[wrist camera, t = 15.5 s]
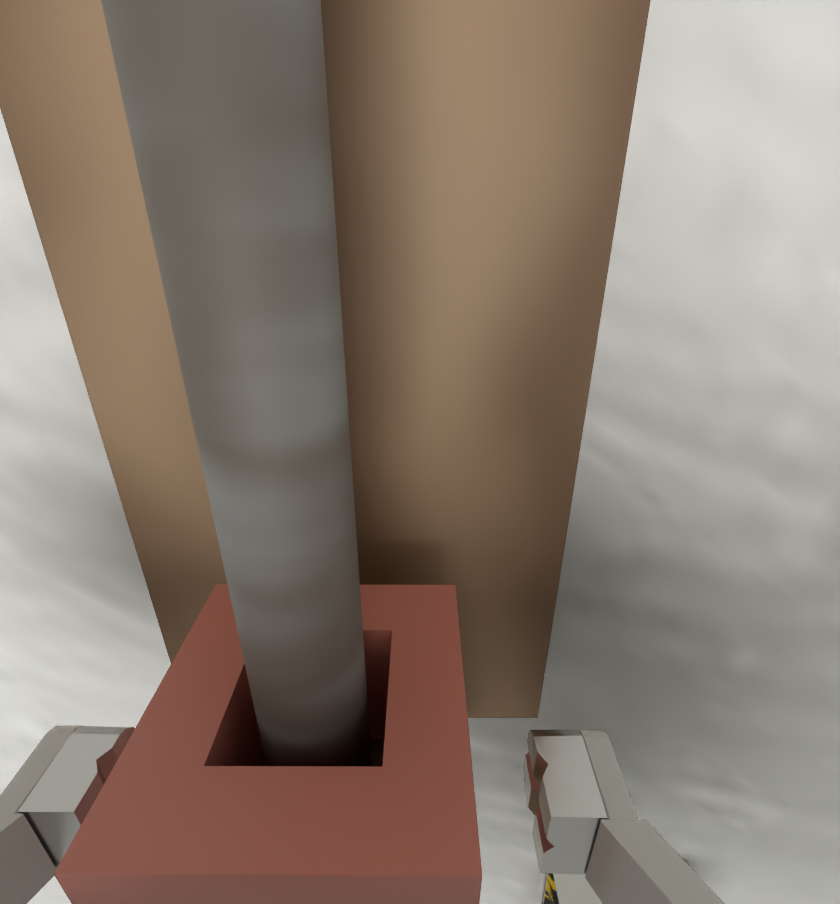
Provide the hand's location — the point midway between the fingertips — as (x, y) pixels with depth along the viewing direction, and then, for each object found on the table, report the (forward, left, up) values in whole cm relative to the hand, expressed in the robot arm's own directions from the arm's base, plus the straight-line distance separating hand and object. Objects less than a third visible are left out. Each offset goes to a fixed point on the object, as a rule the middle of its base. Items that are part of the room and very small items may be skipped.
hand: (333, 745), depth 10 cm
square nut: (0, 0, -2) cm, 2 cm away
